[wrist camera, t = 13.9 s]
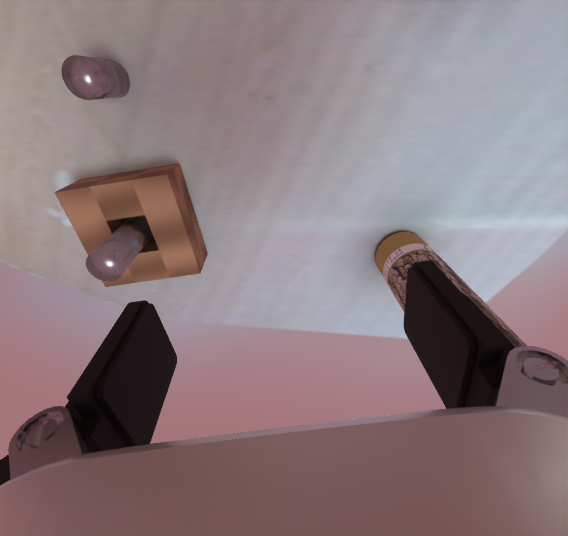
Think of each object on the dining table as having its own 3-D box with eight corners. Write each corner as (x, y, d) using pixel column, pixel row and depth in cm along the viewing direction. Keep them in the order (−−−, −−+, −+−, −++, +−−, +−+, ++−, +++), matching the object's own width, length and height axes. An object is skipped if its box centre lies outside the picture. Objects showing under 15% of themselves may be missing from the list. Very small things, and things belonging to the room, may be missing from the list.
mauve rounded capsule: (90, 63, 30) (54, 59, 25) (121, 57, 30) (91, 52, 25) (105, 99, 32) (73, 102, 27) (134, 94, 32) (108, 96, 27)
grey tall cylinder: (131, 209, 38) (79, 254, 28) (156, 205, 38) (113, 249, 28) (141, 232, 40) (95, 283, 29) (165, 228, 40) (127, 279, 29)
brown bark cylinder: (381, 279, 45) (483, 457, 24) (367, 242, 42) (469, 409, 20) (427, 260, 44) (579, 431, 22) (416, 221, 40) (580, 375, 19)
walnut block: (80, 179, 36) (54, 192, 32) (179, 163, 36) (167, 174, 31) (122, 266, 42) (105, 286, 38) (207, 253, 42) (200, 273, 37)
